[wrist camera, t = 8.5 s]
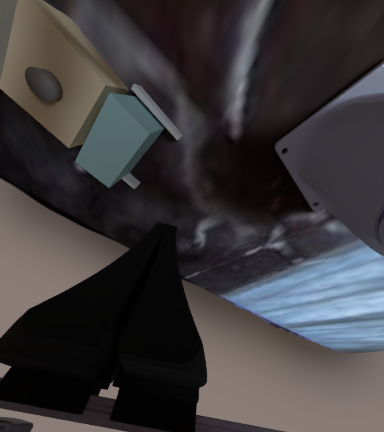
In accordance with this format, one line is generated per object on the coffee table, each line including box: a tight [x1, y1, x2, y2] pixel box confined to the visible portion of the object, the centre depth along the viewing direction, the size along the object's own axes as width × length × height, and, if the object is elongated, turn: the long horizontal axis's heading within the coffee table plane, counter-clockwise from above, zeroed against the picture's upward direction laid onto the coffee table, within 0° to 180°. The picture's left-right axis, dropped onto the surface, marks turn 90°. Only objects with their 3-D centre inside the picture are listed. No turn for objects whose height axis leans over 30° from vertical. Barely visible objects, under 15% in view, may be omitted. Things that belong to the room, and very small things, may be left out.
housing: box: [0, 0, 129, 148], centre depth 11 cm, size 5×6×4 cm
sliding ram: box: [75, 93, 165, 188], centre depth 12 cm, size 3×6×4 cm, turn 134°
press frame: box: [0, 0, 183, 189], centre depth 11 cm, size 15×9×4 cm, turn 44°
